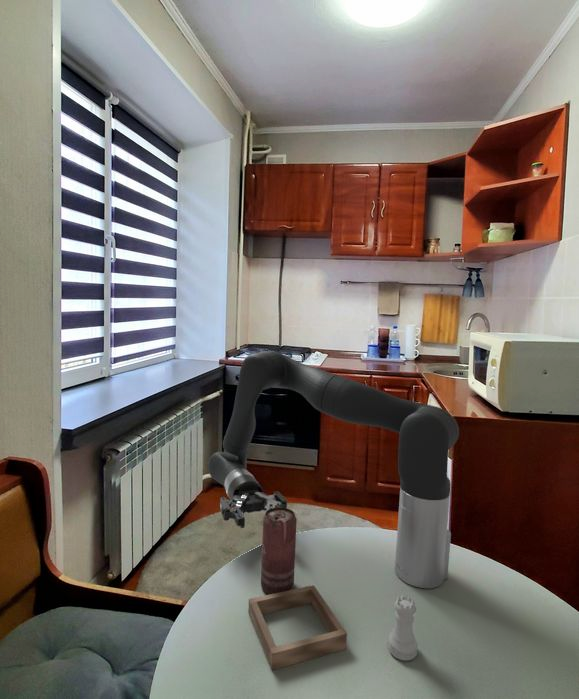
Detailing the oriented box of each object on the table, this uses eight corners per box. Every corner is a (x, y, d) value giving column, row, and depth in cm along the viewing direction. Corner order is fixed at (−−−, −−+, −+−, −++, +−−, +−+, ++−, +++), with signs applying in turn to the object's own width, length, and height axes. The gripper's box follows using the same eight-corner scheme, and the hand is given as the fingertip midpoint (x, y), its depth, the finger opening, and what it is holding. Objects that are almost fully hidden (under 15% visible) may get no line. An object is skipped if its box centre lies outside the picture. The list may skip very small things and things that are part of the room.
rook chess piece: (418, 665, 61) (422, 614, 61) (387, 659, 62) (390, 608, 62) (415, 642, 66) (419, 594, 65) (386, 637, 67) (389, 589, 66)
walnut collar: (313, 598, 75) (313, 585, 75) (346, 649, 64) (346, 633, 64) (248, 613, 71) (248, 599, 70) (271, 670, 59) (272, 653, 59)
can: (269, 602, 74) (272, 525, 72) (255, 581, 79) (258, 509, 78) (300, 592, 76) (303, 518, 75) (284, 573, 82) (287, 503, 81)
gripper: (213, 477, 98) (229, 507, 83) (271, 471, 104) (296, 498, 88) (213, 508, 99) (228, 543, 84) (270, 500, 104) (294, 533, 89)
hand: (263, 520), depth 86 cm, fingers open, 8 cm apart
